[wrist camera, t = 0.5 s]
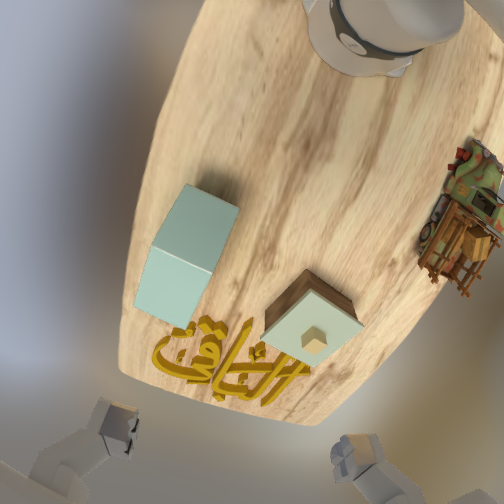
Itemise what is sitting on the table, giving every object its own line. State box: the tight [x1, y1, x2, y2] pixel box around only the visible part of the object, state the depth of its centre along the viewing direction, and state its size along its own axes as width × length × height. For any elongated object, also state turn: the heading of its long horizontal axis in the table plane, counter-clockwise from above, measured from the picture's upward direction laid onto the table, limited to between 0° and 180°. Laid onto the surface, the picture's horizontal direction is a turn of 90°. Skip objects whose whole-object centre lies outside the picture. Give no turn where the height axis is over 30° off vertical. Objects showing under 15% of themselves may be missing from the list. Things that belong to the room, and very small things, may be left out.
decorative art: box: [152, 315, 310, 407], centre depth 63 cm, size 34×3×30 cm
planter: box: [133, 184, 240, 330], centre depth 41 cm, size 17×8×21 cm
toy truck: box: [417, 139, 504, 298], centre depth 37 cm, size 11×25×15 cm, turn 160°
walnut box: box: [265, 269, 358, 331], centre depth 52 cm, size 12×12×7 cm
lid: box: [260, 288, 364, 368], centre depth 47 cm, size 13×13×4 cm
